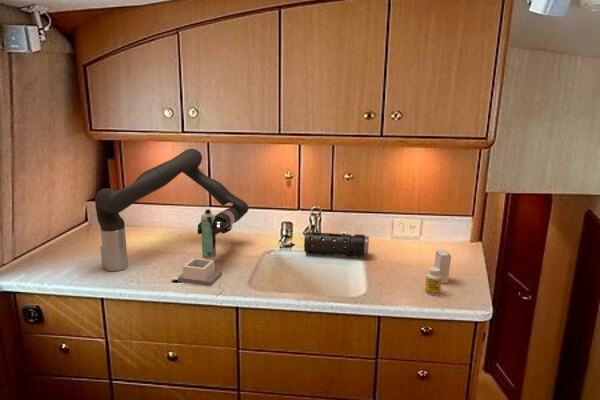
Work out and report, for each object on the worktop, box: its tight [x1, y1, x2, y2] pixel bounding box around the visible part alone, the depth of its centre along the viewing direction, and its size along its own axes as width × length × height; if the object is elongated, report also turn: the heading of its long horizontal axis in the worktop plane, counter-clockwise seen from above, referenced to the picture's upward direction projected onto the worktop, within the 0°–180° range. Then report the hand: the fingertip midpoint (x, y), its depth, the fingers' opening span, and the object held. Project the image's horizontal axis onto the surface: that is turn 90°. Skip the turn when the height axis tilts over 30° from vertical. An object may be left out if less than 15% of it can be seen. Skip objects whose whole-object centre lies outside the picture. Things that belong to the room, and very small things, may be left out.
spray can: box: [200, 208, 217, 260], centre depth 199 cm, size 6×6×20 cm
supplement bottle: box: [424, 266, 442, 296], centre depth 184 cm, size 5×5×10 cm
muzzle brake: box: [303, 231, 370, 258], centre depth 219 cm, size 10×28×10 cm, turn 81°
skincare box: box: [433, 249, 452, 284], centre depth 194 cm, size 6×4×12 cm
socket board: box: [177, 257, 223, 287], centre depth 194 cm, size 14×10×6 cm
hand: (205, 232), depth 197 cm, fingers closed on spray can, 5 cm apart
